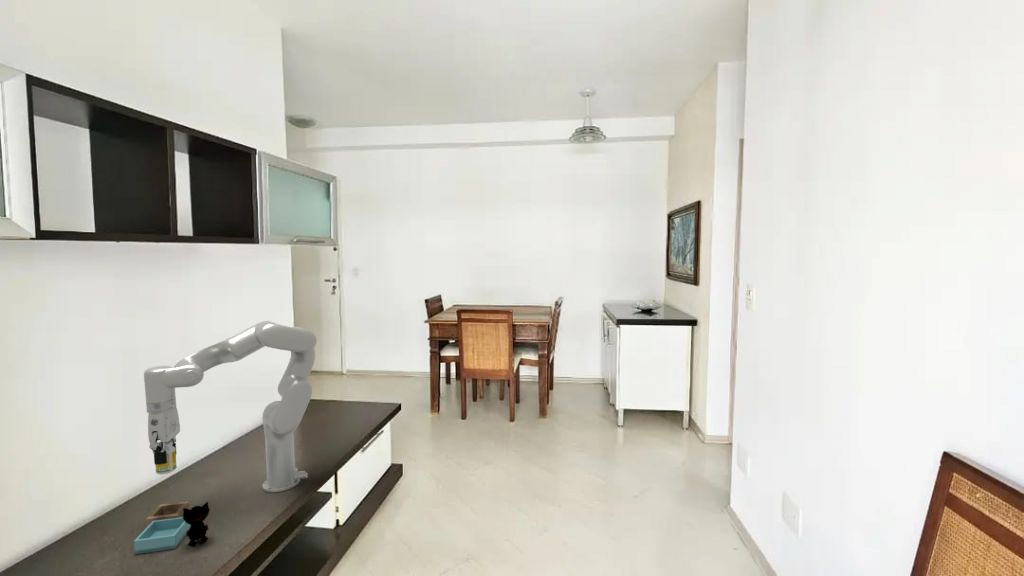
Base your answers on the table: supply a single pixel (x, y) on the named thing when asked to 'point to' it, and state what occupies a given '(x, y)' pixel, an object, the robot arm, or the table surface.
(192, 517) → the cat figurine
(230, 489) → the table surface
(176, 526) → the tray
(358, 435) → the table surface
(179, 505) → the hollow wooden block
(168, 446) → the supplement bottle
